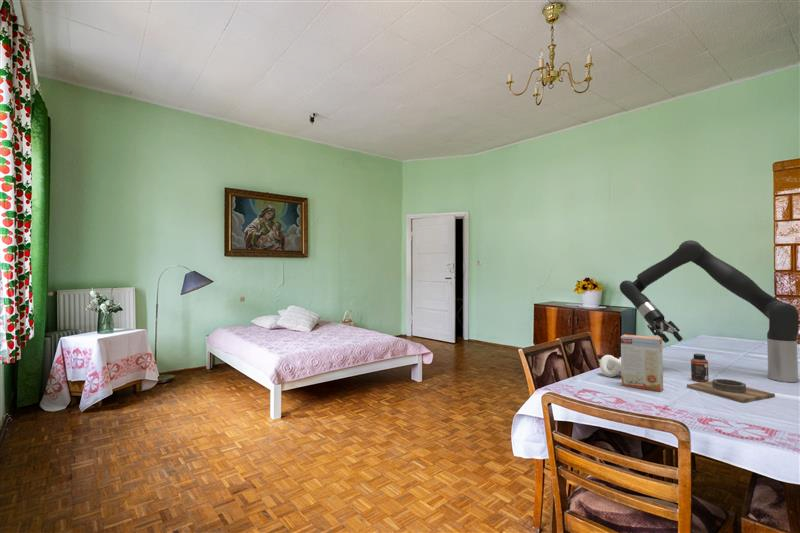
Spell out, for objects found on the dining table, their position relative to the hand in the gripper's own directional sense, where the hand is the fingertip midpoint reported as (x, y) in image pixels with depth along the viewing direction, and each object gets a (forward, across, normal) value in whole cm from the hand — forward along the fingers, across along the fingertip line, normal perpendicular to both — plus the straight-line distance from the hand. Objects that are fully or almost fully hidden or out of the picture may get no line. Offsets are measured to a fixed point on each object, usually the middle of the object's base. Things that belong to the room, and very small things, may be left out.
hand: (674, 341), depth 182 cm
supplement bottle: (+19, 0, +3) cm, 19 cm away
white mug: (+6, -27, +16) cm, 32 cm away
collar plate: (+29, -6, -8) cm, 31 cm away
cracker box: (+17, -31, +4) cm, 36 cm away
